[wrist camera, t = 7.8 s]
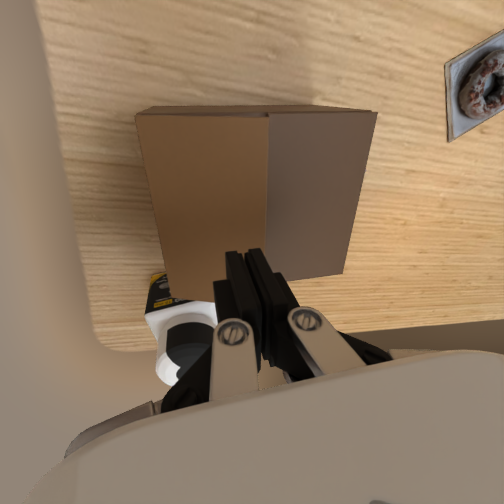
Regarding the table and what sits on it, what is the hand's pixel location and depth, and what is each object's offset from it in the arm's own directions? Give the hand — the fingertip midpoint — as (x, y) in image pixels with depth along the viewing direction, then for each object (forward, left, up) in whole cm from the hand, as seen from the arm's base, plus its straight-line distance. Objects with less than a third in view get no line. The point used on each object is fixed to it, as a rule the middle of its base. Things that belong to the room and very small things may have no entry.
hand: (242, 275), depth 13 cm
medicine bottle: (-4, -14, -18) cm, 23 cm away
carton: (+3, 0, -17) cm, 17 cm away
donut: (+29, +8, -18) cm, 35 cm away
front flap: (-1, 0, -6) cm, 6 cm away
